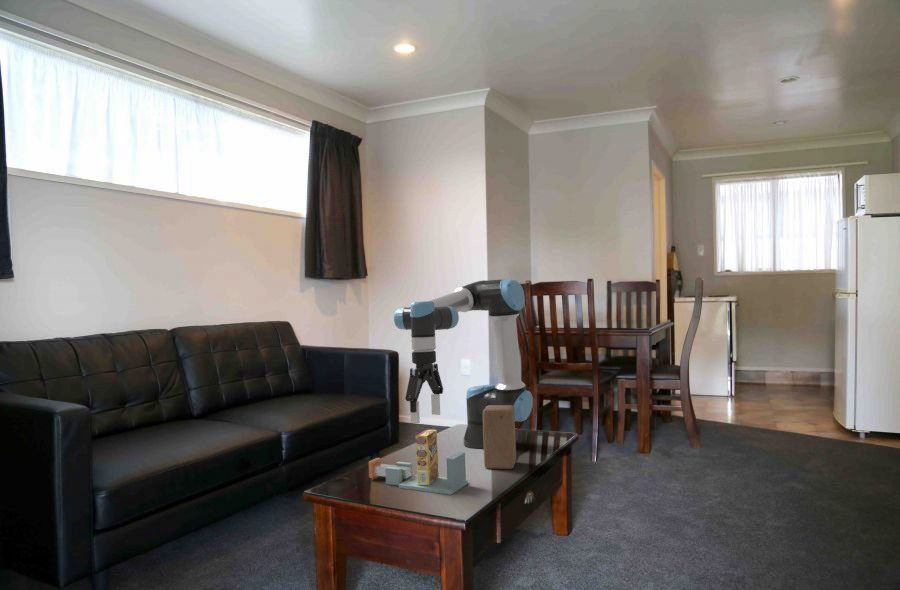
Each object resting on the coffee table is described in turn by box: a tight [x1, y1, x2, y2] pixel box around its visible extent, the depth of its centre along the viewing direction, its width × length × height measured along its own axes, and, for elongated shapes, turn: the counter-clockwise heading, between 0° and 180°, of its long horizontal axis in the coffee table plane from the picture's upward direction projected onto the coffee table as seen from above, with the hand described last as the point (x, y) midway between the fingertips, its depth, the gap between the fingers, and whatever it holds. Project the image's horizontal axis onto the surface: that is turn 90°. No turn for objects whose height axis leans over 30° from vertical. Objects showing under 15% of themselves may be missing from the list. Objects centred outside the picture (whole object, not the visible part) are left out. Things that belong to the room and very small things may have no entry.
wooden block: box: [483, 405, 517, 470], centre depth 207 cm, size 10×10×20 cm
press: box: [385, 451, 469, 495], centre depth 188 cm, size 12×24×10 cm, turn 63°
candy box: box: [415, 429, 440, 486], centre depth 188 cm, size 9×4×15 cm, turn 162°
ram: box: [368, 457, 411, 480], centre depth 194 cm, size 5×13×5 cm, turn 63°
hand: (425, 418), depth 188 cm, fingers open, 13 cm apart
